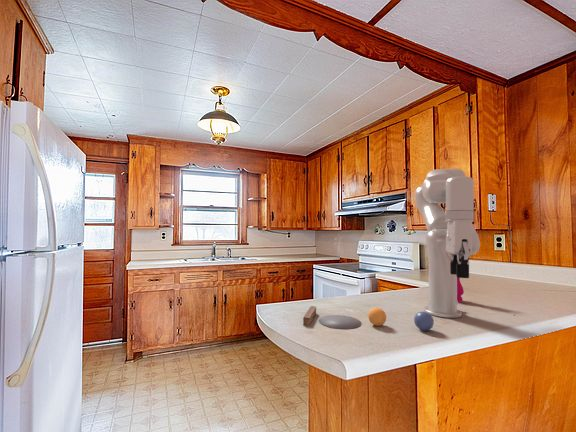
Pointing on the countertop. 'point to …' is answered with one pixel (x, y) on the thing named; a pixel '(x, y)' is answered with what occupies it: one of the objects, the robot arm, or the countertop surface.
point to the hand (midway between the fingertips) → (459, 275)
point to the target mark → (339, 322)
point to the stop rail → (309, 316)
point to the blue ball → (423, 320)
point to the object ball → (377, 316)
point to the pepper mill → (459, 290)
